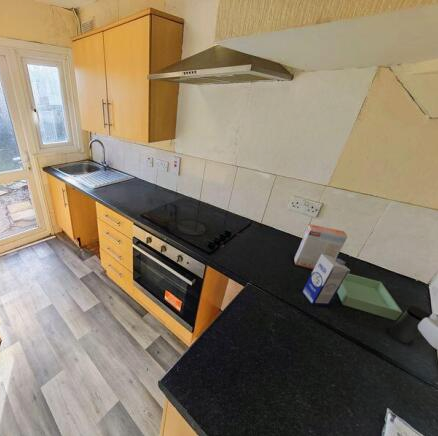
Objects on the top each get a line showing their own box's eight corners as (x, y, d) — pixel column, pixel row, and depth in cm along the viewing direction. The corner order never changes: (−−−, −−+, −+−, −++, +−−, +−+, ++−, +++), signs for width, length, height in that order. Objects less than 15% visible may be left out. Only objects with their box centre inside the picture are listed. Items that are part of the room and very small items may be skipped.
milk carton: (301, 291, 96) (321, 253, 87) (317, 292, 96) (338, 254, 87) (312, 304, 90) (334, 265, 80) (329, 305, 90) (353, 266, 80)
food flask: (404, 333, 80) (425, 309, 75) (413, 346, 76) (436, 322, 70) (385, 327, 82) (404, 303, 76) (392, 339, 78) (413, 315, 72)
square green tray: (375, 289, 99) (381, 282, 97) (395, 320, 85) (402, 312, 83) (331, 277, 105) (335, 270, 103) (342, 304, 90) (347, 296, 88)
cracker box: (325, 267, 112) (344, 230, 102) (328, 274, 107) (348, 237, 97) (293, 258, 117) (308, 223, 107) (294, 265, 112) (311, 228, 102)
